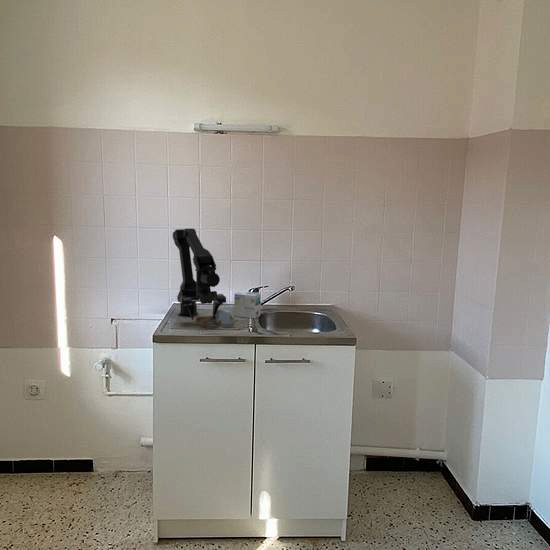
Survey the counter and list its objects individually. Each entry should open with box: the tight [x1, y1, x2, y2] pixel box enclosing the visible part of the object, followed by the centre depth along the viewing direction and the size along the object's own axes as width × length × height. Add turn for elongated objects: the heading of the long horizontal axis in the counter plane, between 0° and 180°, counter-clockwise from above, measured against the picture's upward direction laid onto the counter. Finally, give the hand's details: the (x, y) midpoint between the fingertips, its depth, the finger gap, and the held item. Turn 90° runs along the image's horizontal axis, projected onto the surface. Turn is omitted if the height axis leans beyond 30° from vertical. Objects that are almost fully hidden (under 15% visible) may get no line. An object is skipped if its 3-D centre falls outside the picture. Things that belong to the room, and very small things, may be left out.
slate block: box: [215, 309, 231, 325], centre depth 208 cm, size 5×5×5 cm
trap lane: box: [195, 314, 238, 330], centre depth 206 cm, size 16×14×2 cm
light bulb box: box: [233, 290, 262, 319], centre depth 220 cm, size 11×7×11 cm, turn 71°
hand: (203, 319), depth 205 cm, fingers open, 9 cm apart
